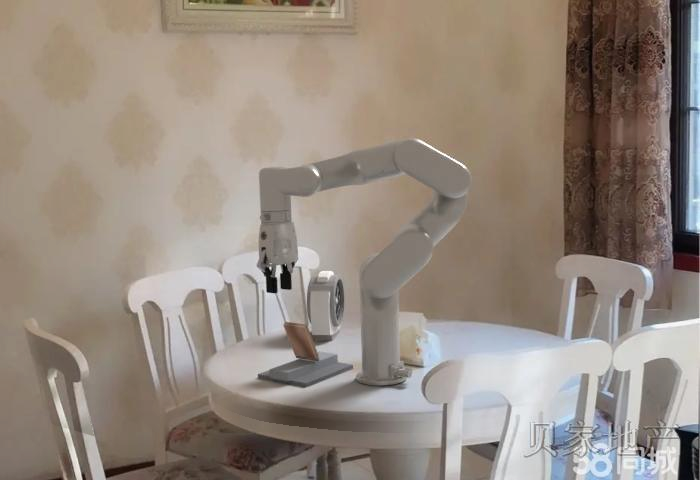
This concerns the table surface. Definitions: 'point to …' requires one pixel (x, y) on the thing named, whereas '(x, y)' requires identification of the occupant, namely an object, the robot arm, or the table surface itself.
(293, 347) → the flap
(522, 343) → the table surface
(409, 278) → the robot arm
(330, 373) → the grey ridged base plate
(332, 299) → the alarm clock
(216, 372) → the table surface
